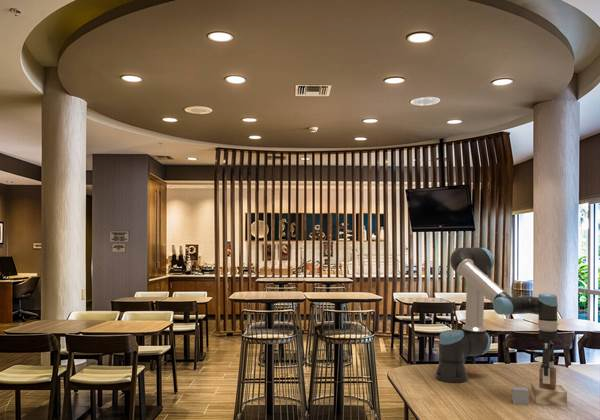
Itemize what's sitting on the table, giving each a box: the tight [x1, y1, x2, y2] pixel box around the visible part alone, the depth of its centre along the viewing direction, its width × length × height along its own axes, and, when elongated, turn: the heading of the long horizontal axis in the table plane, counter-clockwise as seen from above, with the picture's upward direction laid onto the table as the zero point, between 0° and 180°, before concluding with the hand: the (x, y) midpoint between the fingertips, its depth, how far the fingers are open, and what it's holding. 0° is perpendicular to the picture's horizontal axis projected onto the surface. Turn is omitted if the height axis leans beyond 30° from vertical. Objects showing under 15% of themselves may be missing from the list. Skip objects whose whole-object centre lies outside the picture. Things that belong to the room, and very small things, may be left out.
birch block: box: [530, 382, 568, 408], centre depth 243 cm, size 12×12×6 cm
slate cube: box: [511, 385, 530, 406], centre depth 240 cm, size 6×6×6 cm
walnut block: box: [538, 366, 557, 390], centre depth 243 cm, size 6×6×8 cm
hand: (548, 380), depth 243 cm, fingers open, 13 cm apart
